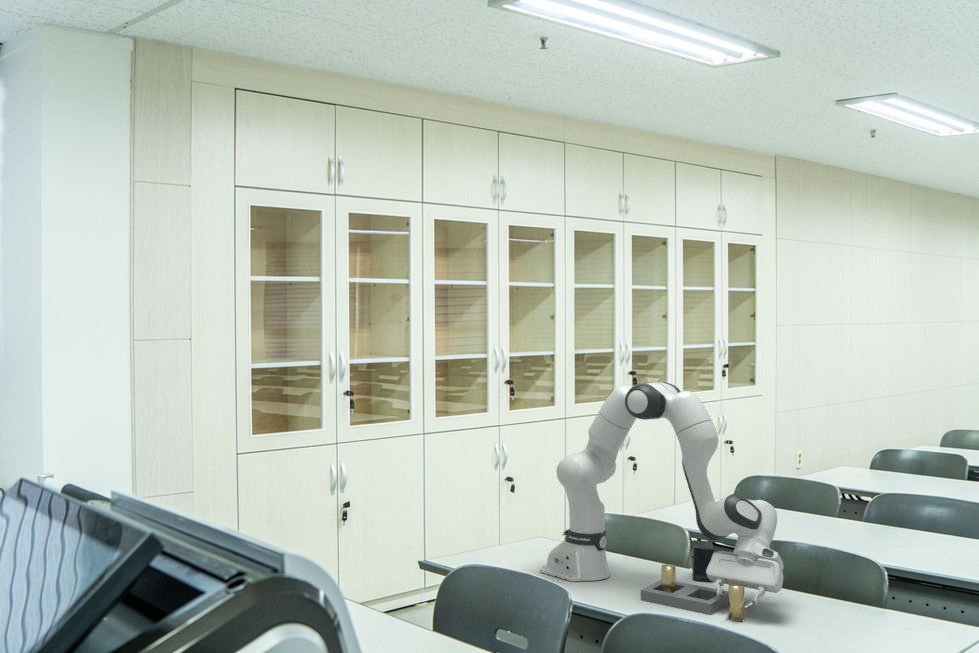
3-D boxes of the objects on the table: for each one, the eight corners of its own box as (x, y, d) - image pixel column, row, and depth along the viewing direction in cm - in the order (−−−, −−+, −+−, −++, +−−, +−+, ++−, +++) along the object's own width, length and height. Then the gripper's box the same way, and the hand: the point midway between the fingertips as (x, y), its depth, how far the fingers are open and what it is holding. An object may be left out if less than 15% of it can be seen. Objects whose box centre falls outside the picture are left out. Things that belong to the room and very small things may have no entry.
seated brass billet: (659, 597, 246) (658, 566, 246) (665, 594, 249) (665, 563, 249) (671, 600, 243) (671, 568, 243) (678, 597, 246) (678, 565, 247)
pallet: (640, 602, 244) (640, 590, 244) (663, 591, 255) (663, 579, 255) (710, 617, 231) (710, 604, 231) (731, 604, 242) (731, 592, 242)
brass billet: (726, 619, 229) (726, 585, 229) (732, 616, 232) (732, 582, 232) (740, 622, 227) (740, 588, 227) (746, 619, 230) (746, 585, 230)
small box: (714, 582, 264) (714, 548, 264) (693, 581, 265) (692, 547, 265) (713, 573, 274) (712, 540, 274) (692, 572, 275) (691, 539, 275)
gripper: (711, 542, 242) (696, 585, 234) (783, 554, 229) (770, 599, 221) (717, 555, 245) (703, 598, 238) (789, 567, 233) (777, 612, 225)
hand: (736, 599), depth 229 cm, fingers open, 8 cm apart
